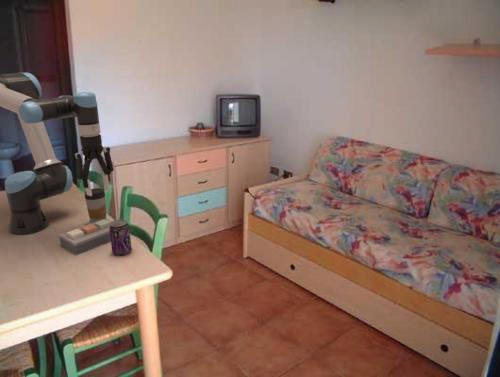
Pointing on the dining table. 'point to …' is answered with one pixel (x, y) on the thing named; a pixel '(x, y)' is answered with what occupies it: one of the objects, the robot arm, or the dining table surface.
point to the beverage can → (120, 237)
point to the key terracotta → (89, 229)
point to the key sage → (102, 224)
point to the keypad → (85, 240)
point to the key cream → (75, 234)
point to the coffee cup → (96, 205)
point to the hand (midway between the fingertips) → (98, 192)
